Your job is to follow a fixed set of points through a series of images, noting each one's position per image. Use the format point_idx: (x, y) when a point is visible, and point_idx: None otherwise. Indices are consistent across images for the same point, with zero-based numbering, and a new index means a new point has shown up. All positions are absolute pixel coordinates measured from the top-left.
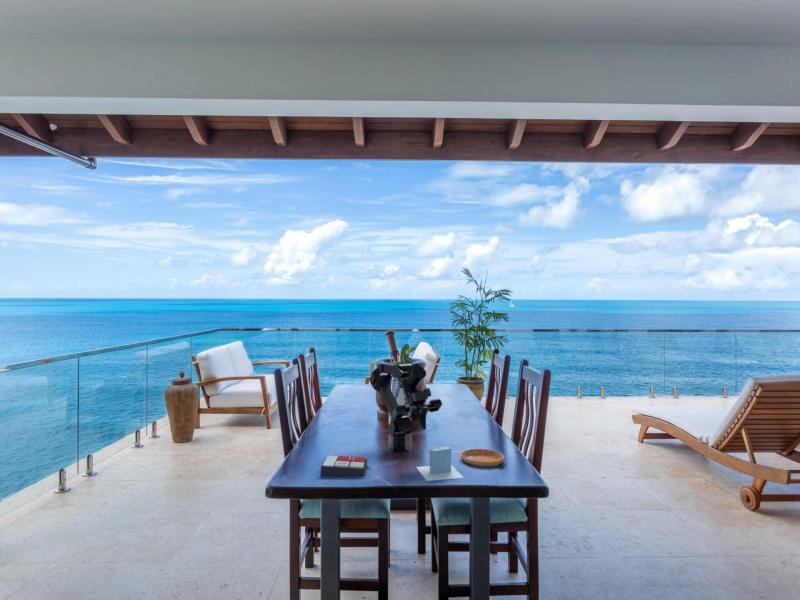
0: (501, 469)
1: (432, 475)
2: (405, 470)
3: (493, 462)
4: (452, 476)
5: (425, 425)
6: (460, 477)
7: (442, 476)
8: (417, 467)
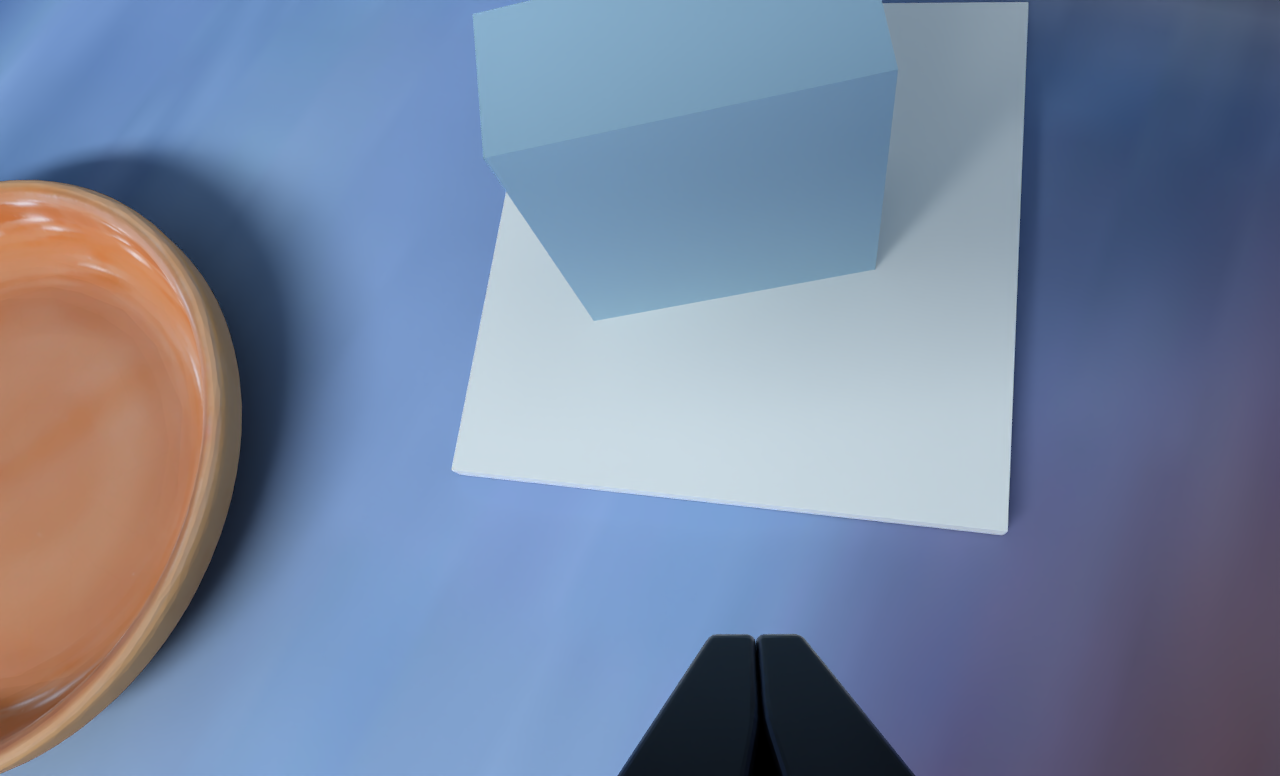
0: None
1: None
2: (1210, 522)
3: (11, 184)
4: None
5: (699, 684)
6: None
7: None
8: (994, 504)
